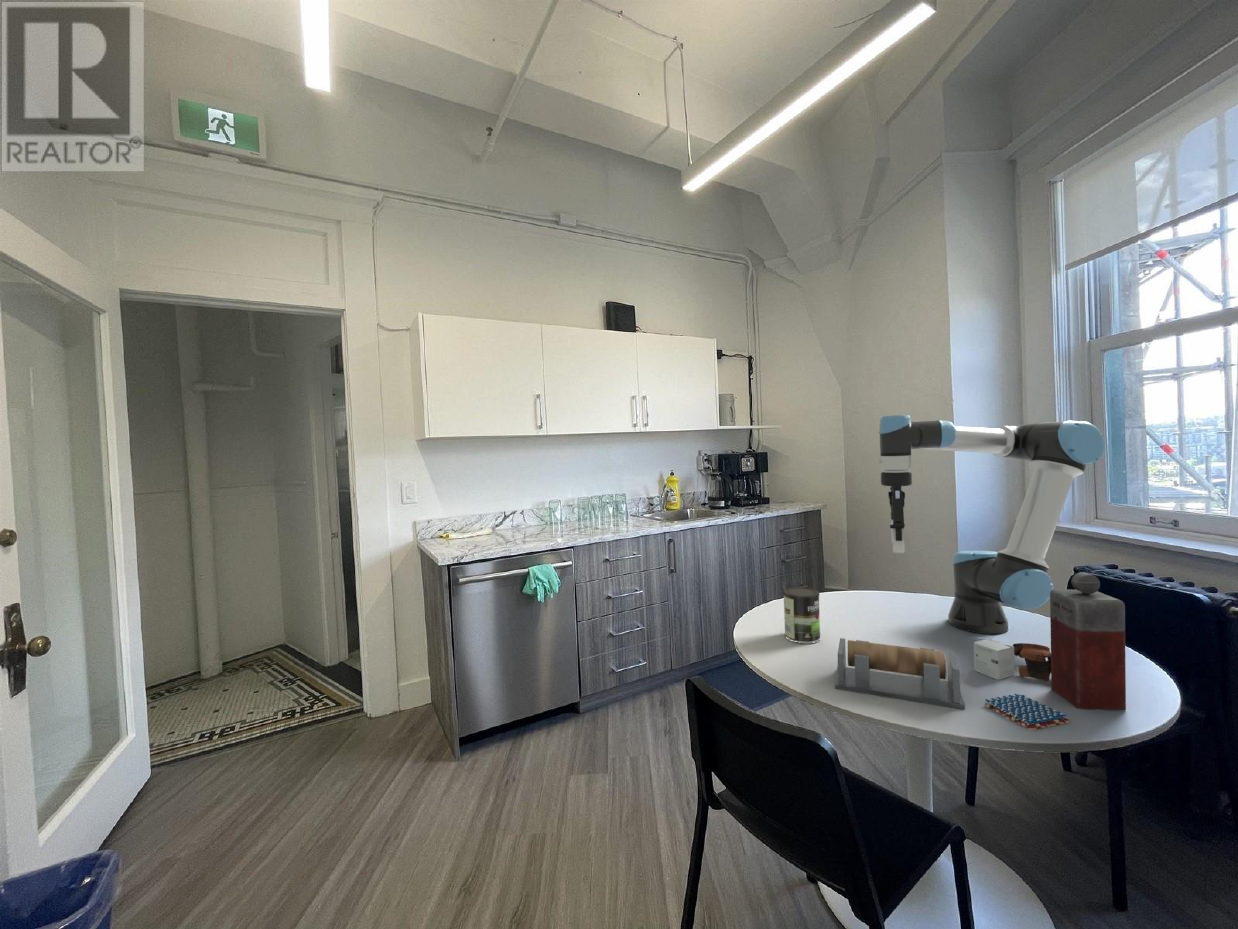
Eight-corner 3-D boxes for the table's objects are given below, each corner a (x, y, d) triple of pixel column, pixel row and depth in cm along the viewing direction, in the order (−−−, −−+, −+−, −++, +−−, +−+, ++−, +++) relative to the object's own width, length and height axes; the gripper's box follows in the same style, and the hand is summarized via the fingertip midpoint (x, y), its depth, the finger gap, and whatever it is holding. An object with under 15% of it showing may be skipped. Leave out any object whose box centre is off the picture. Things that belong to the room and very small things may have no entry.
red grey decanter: (1088, 685, 118) (1086, 566, 117) (1126, 711, 107) (1125, 578, 106) (1044, 684, 119) (1042, 566, 118) (1078, 708, 108) (1076, 578, 107)
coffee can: (827, 637, 153) (825, 590, 153) (809, 647, 147) (808, 598, 146) (795, 629, 161) (794, 584, 161) (777, 638, 154) (776, 592, 154)
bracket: (957, 687, 120) (956, 651, 120) (965, 709, 110) (964, 671, 110) (837, 669, 132) (836, 637, 131) (834, 688, 122) (833, 653, 121)
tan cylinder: (942, 671, 119) (942, 647, 118) (946, 684, 114) (945, 658, 113) (849, 659, 128) (848, 636, 127) (848, 670, 123) (847, 646, 122)
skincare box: (973, 670, 128) (972, 641, 128) (989, 666, 130) (989, 637, 130) (998, 680, 122) (998, 650, 122) (1015, 675, 124) (1014, 646, 124)
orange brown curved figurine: (1004, 675, 126) (1001, 641, 129) (1023, 683, 130) (1019, 649, 133) (1064, 679, 116) (1059, 642, 119) (1083, 688, 120) (1077, 652, 123)
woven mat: (1031, 734, 101) (1031, 724, 101) (982, 708, 111) (982, 699, 111) (1072, 725, 103) (1072, 715, 103) (1020, 700, 114) (1020, 691, 114)
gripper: (880, 468, 153) (882, 538, 154) (881, 474, 131) (883, 556, 132) (908, 468, 150) (910, 539, 151) (914, 474, 128) (916, 557, 128)
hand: (897, 547), depth 141 cm, fingers open, 13 cm apart
